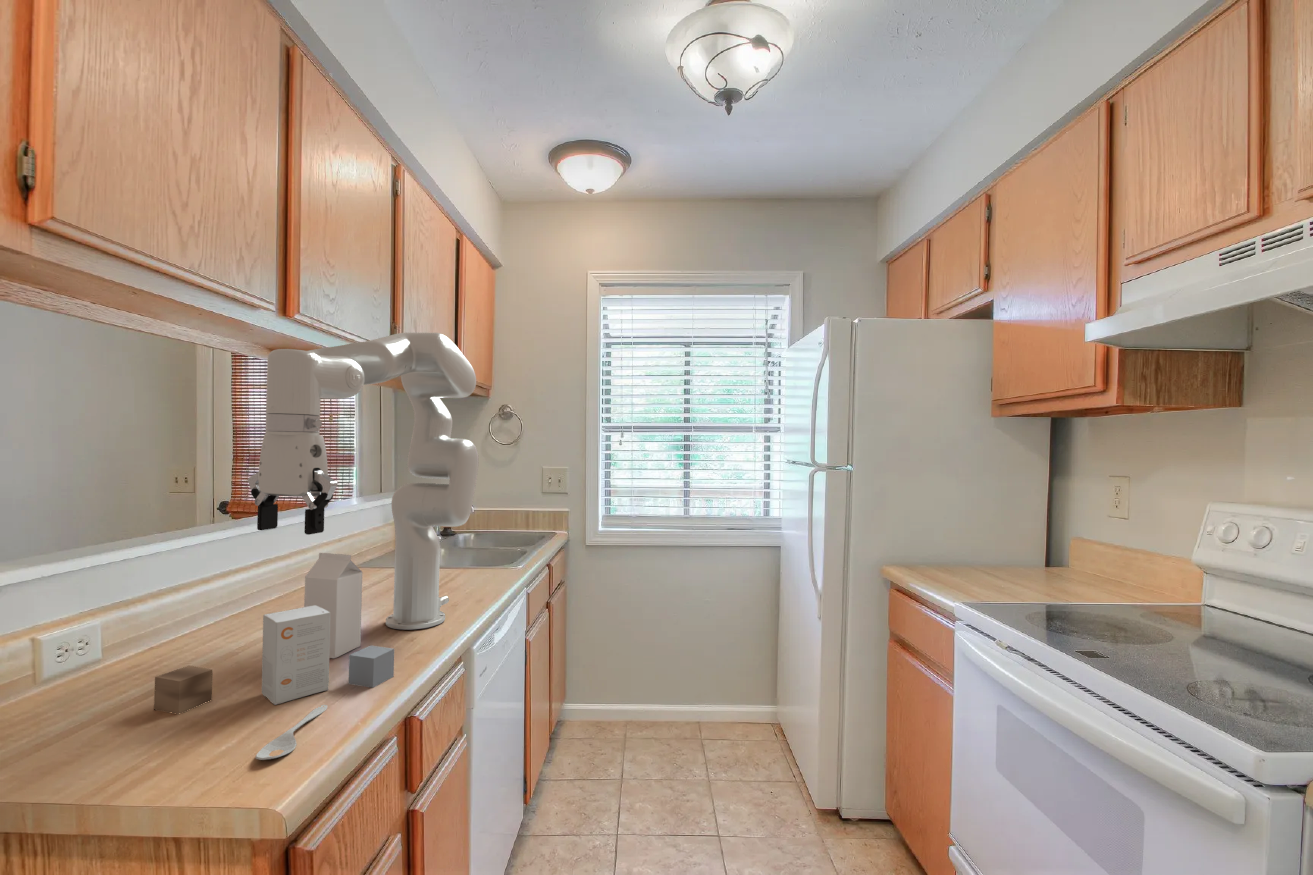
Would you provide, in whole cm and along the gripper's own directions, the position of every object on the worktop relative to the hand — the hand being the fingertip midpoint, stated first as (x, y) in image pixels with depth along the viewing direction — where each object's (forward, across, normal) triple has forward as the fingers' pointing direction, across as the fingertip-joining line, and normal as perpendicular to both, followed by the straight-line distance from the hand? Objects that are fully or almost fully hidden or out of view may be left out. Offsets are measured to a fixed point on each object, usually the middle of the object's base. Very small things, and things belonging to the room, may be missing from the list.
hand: (290, 531), depth 97 cm
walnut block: (+26, +11, +8) cm, 30 cm away
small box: (+27, -1, -1) cm, 27 cm away
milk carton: (+27, +8, -18) cm, 33 cm away
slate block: (+27, -9, -9) cm, 29 cm away
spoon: (+27, -12, +8) cm, 31 cm away
